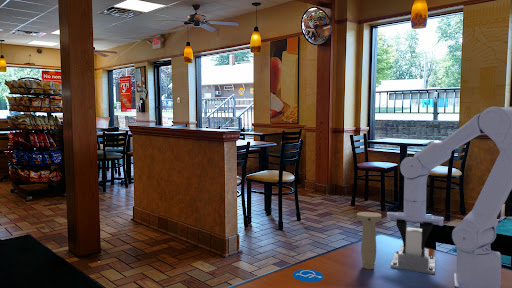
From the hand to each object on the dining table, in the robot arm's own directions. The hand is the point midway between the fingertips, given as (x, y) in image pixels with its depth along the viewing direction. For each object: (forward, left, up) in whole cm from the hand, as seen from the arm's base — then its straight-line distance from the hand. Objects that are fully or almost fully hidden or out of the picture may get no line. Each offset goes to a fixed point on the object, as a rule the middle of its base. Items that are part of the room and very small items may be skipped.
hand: (413, 247), depth 108 cm
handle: (+11, +8, -5) cm, 15 cm away
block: (0, 0, -2) cm, 2 cm away
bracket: (0, 0, -5) cm, 5 cm away
